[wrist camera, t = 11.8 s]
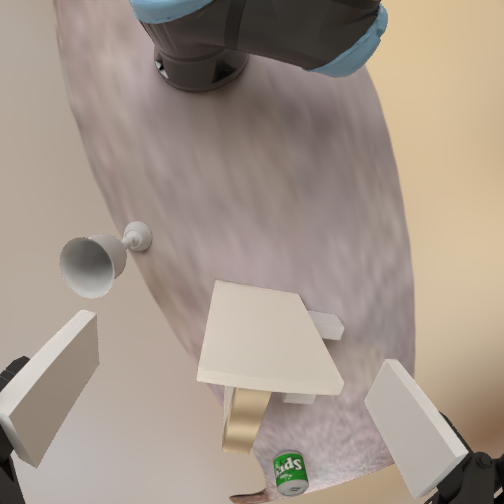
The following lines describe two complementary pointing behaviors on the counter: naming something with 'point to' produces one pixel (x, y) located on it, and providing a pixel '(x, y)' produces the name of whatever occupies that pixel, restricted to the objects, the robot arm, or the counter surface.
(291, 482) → the soda can
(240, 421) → the rail
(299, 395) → the stand
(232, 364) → the white shelf
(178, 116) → the counter surface
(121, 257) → the chalice
